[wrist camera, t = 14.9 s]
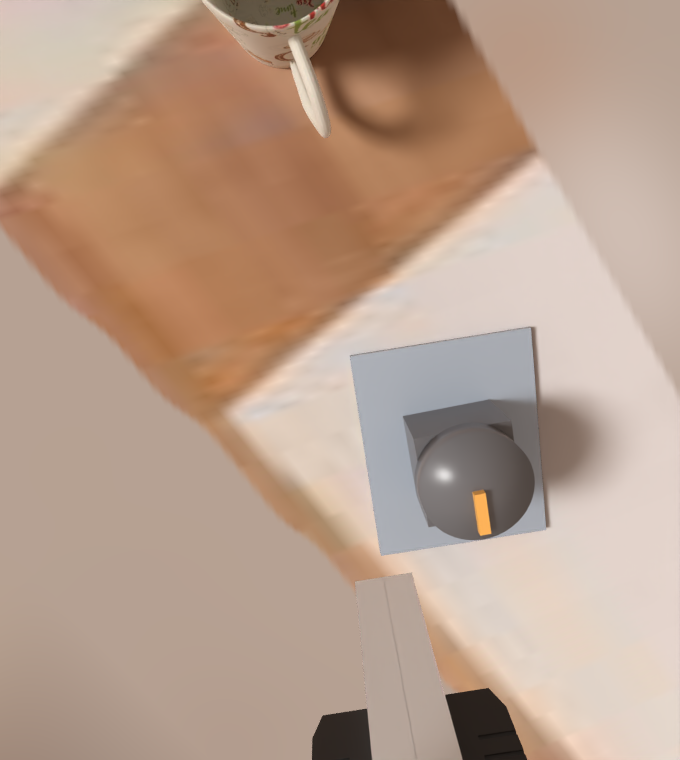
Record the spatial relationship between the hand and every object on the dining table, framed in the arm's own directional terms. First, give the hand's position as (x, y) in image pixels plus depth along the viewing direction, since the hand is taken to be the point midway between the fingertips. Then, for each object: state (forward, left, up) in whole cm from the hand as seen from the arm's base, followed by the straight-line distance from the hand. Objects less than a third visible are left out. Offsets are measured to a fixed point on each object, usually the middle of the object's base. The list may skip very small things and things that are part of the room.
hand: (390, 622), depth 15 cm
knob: (+6, +7, -26) cm, 28 cm away
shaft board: (+6, +7, -26) cm, 28 cm away
